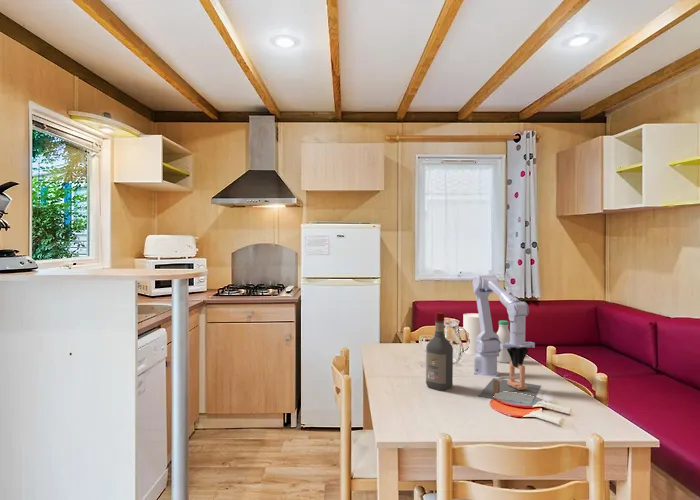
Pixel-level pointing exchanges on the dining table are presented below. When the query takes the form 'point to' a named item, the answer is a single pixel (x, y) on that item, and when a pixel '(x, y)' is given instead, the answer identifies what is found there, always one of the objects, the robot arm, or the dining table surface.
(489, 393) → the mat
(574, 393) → the dining table surface
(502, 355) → the milk bottle
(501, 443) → the dining table surface
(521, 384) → the orange rectangular frame
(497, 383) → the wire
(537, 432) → the dining table surface
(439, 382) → the liquor
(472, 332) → the canister
